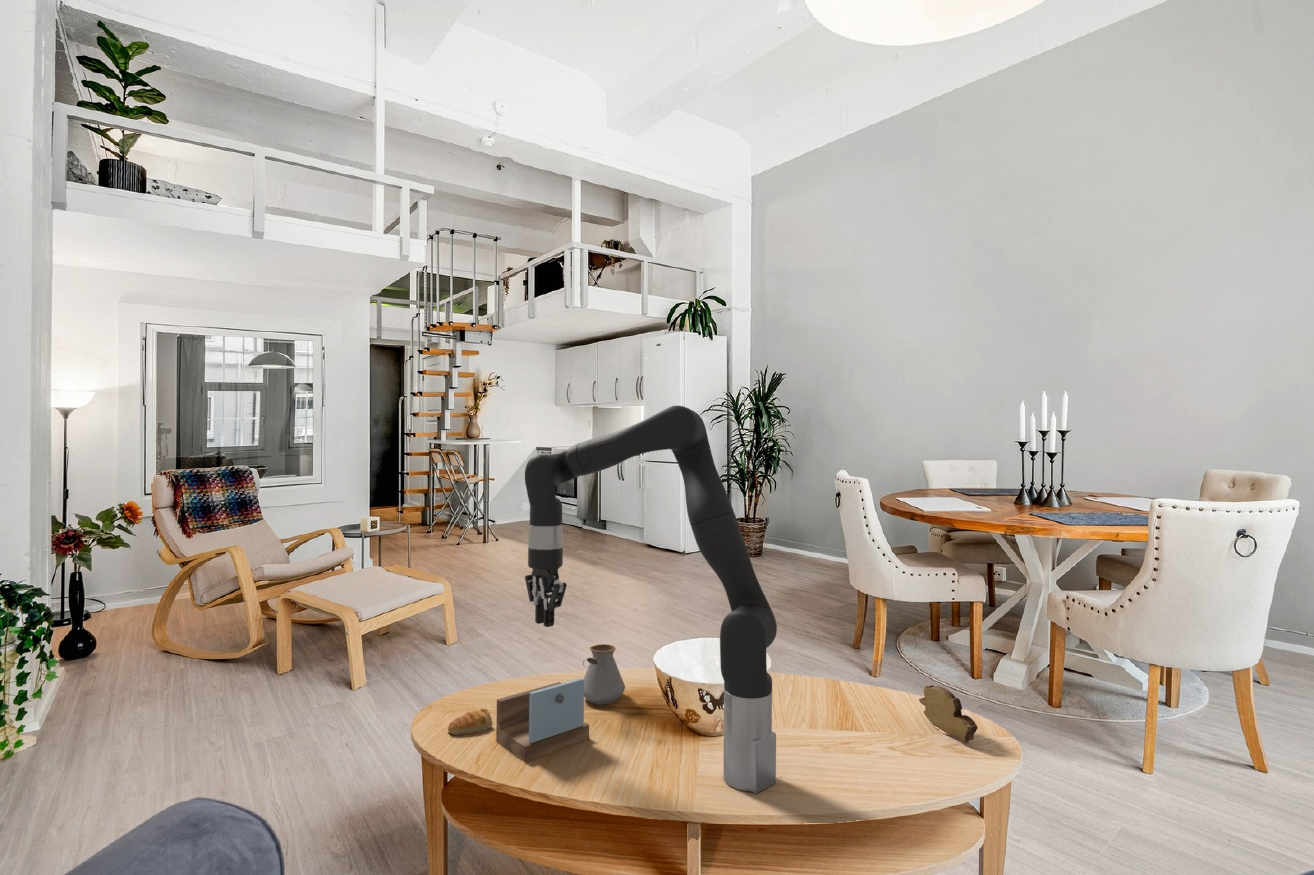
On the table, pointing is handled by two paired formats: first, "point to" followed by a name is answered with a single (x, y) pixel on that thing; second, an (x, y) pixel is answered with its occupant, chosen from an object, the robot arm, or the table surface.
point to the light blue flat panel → (556, 709)
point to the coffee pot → (602, 676)
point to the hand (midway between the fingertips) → (544, 624)
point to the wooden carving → (947, 713)
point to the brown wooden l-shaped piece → (516, 729)
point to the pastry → (471, 722)
